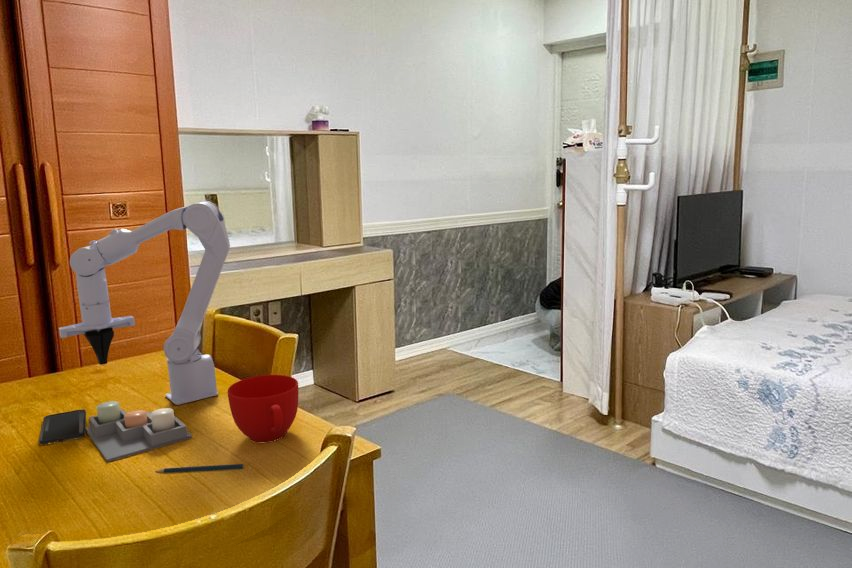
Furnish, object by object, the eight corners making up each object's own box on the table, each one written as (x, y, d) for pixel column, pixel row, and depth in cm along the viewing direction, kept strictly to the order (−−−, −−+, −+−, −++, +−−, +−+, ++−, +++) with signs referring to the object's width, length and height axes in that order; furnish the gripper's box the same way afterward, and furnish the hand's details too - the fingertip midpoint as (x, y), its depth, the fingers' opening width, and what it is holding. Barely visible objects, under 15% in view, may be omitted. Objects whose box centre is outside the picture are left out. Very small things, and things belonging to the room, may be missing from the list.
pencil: (242, 470, 112) (154, 475, 111) (244, 467, 113) (156, 472, 112) (242, 465, 112) (153, 470, 111) (243, 463, 113) (155, 467, 112)
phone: (85, 408, 141) (84, 433, 127) (86, 413, 141) (85, 438, 127) (43, 416, 137) (37, 442, 124) (44, 421, 137) (38, 447, 124)
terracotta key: (145, 424, 130) (143, 408, 130) (150, 430, 127) (148, 414, 127) (123, 429, 128) (121, 413, 127) (129, 436, 125) (127, 419, 124)
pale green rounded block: (118, 415, 133) (116, 399, 132) (123, 420, 129) (121, 405, 129) (96, 420, 130) (94, 404, 130) (101, 426, 127) (99, 410, 126)
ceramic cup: (245, 465, 113) (240, 410, 111) (226, 431, 128) (221, 382, 126) (317, 448, 119) (313, 395, 117) (291, 417, 134) (287, 370, 132)
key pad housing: (163, 410, 139) (161, 399, 139) (192, 438, 125) (190, 425, 125) (85, 430, 130) (83, 418, 130) (107, 462, 116) (105, 448, 116)
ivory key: (171, 422, 128) (169, 406, 127) (178, 428, 125) (176, 412, 124) (150, 428, 125) (148, 411, 125) (156, 434, 122) (154, 418, 122)
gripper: (59, 311, 133) (69, 375, 135) (135, 299, 141) (142, 360, 144) (53, 305, 138) (63, 367, 141) (126, 295, 147) (134, 353, 150)
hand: (102, 363), depth 143 cm, fingers closed
